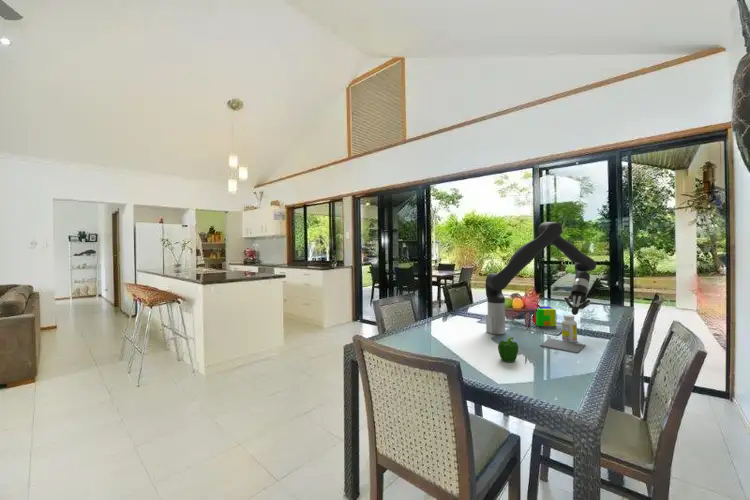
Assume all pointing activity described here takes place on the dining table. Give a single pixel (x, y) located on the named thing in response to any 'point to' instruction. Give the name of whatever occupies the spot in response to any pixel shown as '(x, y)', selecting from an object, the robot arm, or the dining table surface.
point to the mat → (563, 345)
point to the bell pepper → (508, 350)
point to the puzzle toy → (545, 316)
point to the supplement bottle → (569, 329)
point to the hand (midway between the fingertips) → (574, 314)
